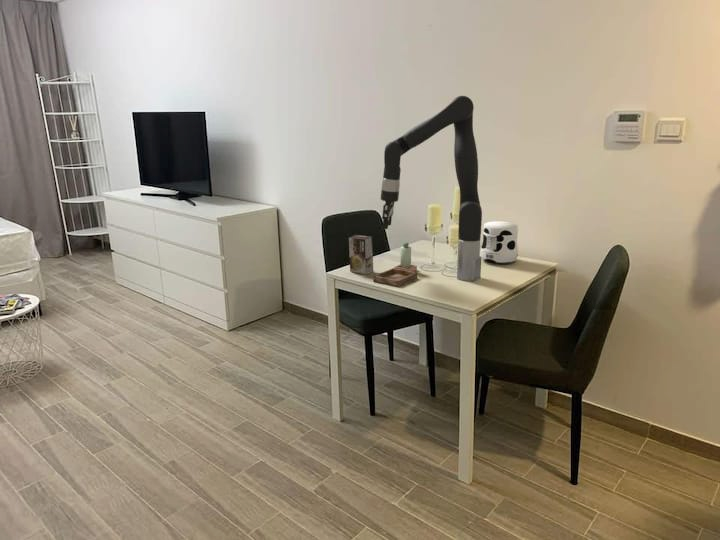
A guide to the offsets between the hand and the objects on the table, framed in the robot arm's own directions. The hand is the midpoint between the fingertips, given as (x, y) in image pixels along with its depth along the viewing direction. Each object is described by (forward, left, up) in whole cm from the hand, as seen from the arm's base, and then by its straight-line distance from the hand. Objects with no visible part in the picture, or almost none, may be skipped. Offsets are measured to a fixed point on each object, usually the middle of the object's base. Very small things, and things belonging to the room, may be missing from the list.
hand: (386, 226), depth 233 cm
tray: (-7, +4, -22) cm, 23 cm away
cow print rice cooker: (-31, -48, -22) cm, 62 cm away
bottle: (-3, -10, -22) cm, 24 cm away
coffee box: (+13, +2, -22) cm, 26 cm away
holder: (-3, -10, -22) cm, 24 cm away
